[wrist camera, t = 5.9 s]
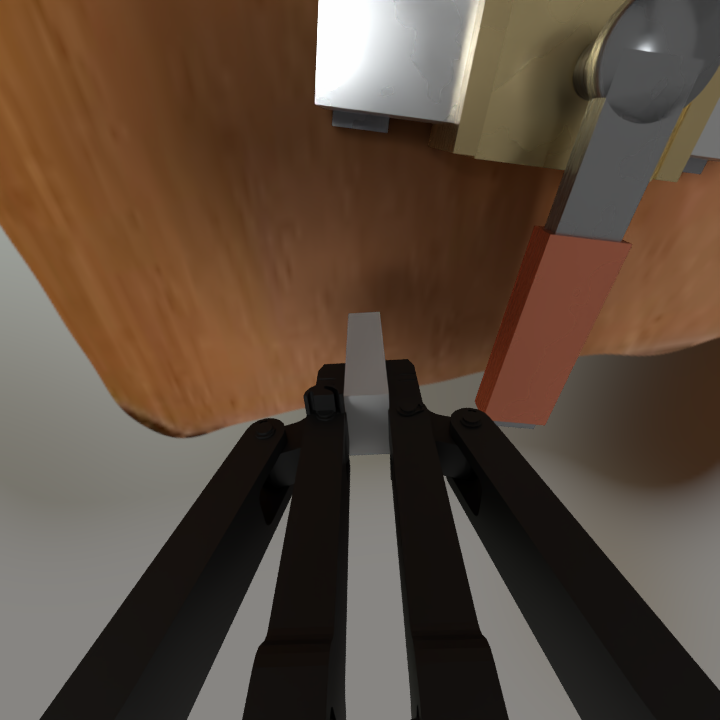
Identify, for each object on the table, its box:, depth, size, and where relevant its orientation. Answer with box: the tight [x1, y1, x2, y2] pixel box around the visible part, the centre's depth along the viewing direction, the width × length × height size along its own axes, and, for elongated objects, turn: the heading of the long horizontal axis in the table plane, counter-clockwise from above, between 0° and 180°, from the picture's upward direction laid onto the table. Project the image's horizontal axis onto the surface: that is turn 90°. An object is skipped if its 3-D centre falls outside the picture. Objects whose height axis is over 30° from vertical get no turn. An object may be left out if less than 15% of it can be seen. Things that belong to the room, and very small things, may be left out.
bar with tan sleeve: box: [315, 0, 720, 182], centre depth 17 cm, size 22×7×10 cm, turn 84°
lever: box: [475, 0, 720, 429], centre depth 15 cm, size 17×4×2 cm, turn 174°
